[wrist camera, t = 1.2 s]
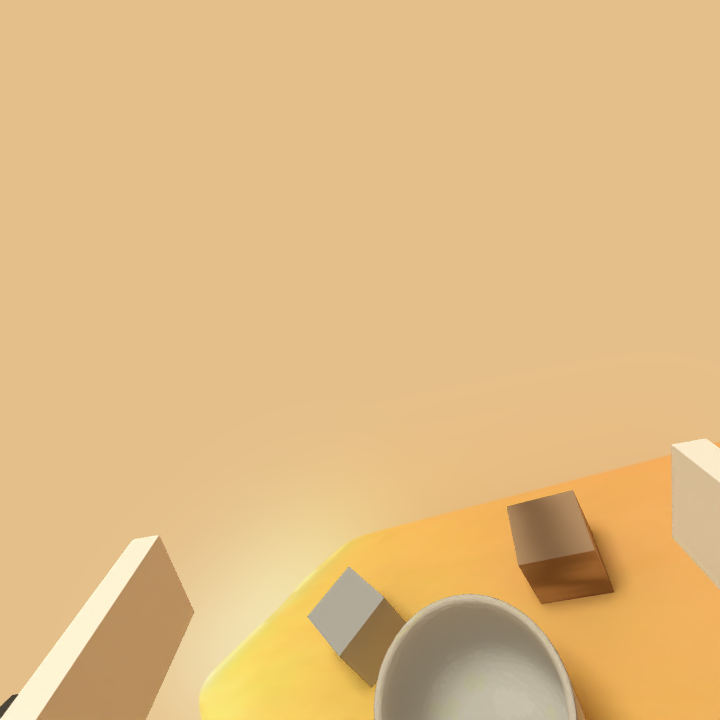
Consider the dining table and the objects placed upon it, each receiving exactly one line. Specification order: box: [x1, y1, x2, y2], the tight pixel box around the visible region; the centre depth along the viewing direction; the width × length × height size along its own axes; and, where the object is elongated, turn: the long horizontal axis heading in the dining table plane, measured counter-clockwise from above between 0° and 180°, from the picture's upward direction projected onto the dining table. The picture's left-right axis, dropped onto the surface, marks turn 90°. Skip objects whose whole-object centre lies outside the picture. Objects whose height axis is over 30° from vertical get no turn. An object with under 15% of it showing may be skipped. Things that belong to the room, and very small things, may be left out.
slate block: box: [307, 567, 406, 687], centre depth 36 cm, size 5×5×5 cm
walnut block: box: [507, 490, 614, 604], centre depth 32 cm, size 5×5×5 cm
